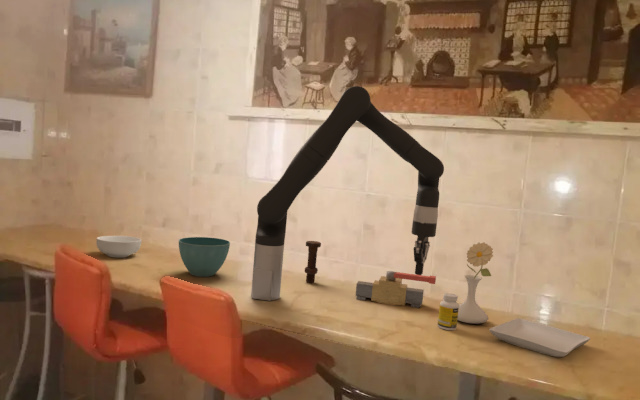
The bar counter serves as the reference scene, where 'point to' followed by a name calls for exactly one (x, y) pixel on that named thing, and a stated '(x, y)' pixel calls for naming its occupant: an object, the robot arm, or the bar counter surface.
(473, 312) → the flower in vase
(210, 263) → the teal bowl
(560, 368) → the bar counter surface
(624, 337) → the bar counter surface
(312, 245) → the bolt
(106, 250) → the cereal bowl
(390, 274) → the lever
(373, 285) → the pipe and valve
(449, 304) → the supplement bottle
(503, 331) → the salad plate
